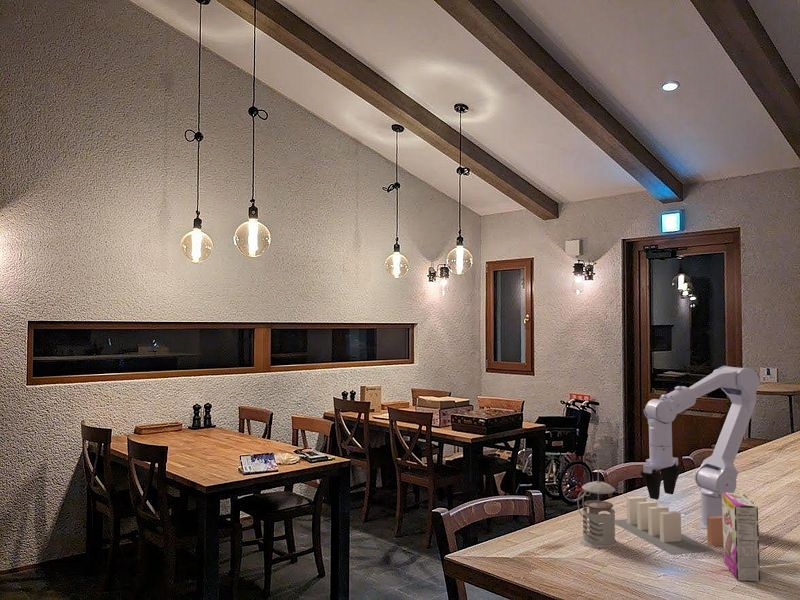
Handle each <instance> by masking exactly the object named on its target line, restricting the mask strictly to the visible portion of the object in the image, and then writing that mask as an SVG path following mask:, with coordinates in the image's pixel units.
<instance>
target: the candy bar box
mask: <svg viewBox="0 0 800 600" xmlns="http://www.w3.org/2000/svg"><path fill="white" fill-rule="evenodd" d="M722 519H723V545H722V547H723V563H724V564H725V565H726V567H727V568H728V570H729V571H730V572H731V574H732V575H733V577H734V578H735V580H737V581H738V582H748V583H749V582H750V583H753V582H754V583H761V570H760V569H761V566H760V563H761V562H760V561H761V560H760V535H759V534H760V533H759V532H760V530H759V527H760V526H759V506H757V505H756V504H755V503H754V502H753V501H752V500H751V499H750V498H749V497H747V496H746V495H745V494H744V493H743V492H742V493H741V492H733V493H728V492H724V493H722Z"/></svg>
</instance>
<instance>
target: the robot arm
mask: <svg viewBox="0 0 800 600" xmlns="http://www.w3.org/2000/svg"><path fill="white" fill-rule="evenodd" d="M760 383H761V381H760V378H759V377H758V375H757V373H756V371H755V370H754V369H752V368H750V367H734V366H728V365H722V366H720V367H718V368H716V369H714V370H713V371H712V373H710V374H708V375H707V376H705V377H703V378H701V379H700V380H699V381H697V382H695V383H693V384H692V385H690V386H689V387H687V386H683V385H681V386H680V385H677V386H675V387H674V389H673V391H670V392H669V393H666V394H662V395H660V397H659V399H658V398H653V399H650V400H649V401H648V402H647V403H646V404H645V408H644V409H643V414H644V416H645V418H646V419H647V425H648V440H649V441H648V444H649V445H648V447H649V448H648V449H649V451H648V452H649V453H648V454H649V458H647V459H645V462H646V463H645V464H643V466H642V468H643V469H642V470H640V476H641V477H642V478H643V480H644V482H645V485H646V487H647V491H648V495H649V498H650V499H652V500H656V501H657V500H659V499H660V496H661V495H660V494H661V493H660V492H661V484H663V490H664V494H667V495H674V493H675V489H676V486H677V485H676V484H677V481H678V478H679V475H680V474H681V472H682V467H681V466H678V465H679V458H678V457H673V431H672V430H673V426H672V424H673V423H672V422H674V421H675V419H676V418H677V415H678V414H680V413H682V412H684V411H685V410H687V409H689V408H692V407H693V406H694V405H695V404H696V401H697V399H698V398H700V397H703V396H705V395H707V394H710V393H711V392H713V391H716V390H717V389H721V390H722V391H723V393H725V394H726V396H727V397H728V398H729V400H730V401H731V405H730V408H729V410H728V413H727V415H726V419H725V421H724V423H723V426H722V429H721V431H720V433H719V436H718V439H717V442H716V444H715V446H714V449H713V452H712V454H711V455H710V456H708V457H706V458H705V459H703V460H702V463H701V465H700V467H698V468H697V469H696V471H695V473H694V480H695V484H696V486H698V487H699V492H700V501H701V503H700V504H701V505H700V506H701V508H700V511H701V515H700V516H701V518H699V519H698V523H699V525H700V527H701V529H702V530H707V517H713V516H722V493H724V492H728V493H735V491H736V488H737V477H738V475H739V472H738V470H737V468H736V466H735V465H734V463H735V460H736V458H737V455H738V451H739V449H740V447H741V444H742V442H743V438H744V436H745V433H746V431H747V429H748V425H749V423H750V419H751V418H752V415H753V413H754V410H755V407H756V403H757V391H758V389H759V386H760ZM658 471H660V473H659V472H658Z"/></svg>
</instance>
